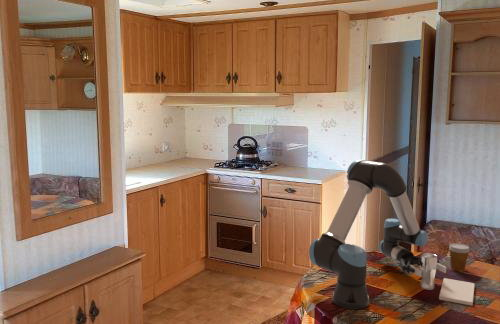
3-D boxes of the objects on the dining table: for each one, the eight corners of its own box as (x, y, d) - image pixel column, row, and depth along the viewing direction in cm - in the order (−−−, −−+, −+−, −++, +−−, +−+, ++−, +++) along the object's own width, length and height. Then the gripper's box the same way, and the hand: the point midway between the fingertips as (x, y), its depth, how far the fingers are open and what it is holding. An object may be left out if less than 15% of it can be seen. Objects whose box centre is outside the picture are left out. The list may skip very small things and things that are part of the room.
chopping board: (472, 305, 196) (472, 302, 196) (438, 299, 202) (439, 296, 202) (474, 286, 215) (474, 283, 215) (443, 281, 221) (443, 278, 221)
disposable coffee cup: (469, 268, 238) (471, 245, 236) (466, 274, 230) (468, 250, 228) (449, 264, 243) (450, 241, 241) (445, 270, 235) (447, 247, 233)
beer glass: (436, 291, 210) (439, 258, 208) (420, 289, 212) (422, 257, 209) (433, 284, 217) (436, 253, 215) (418, 283, 218) (420, 252, 216)
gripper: (423, 260, 235) (454, 276, 215) (380, 266, 226) (409, 283, 207) (424, 245, 233) (456, 260, 214) (381, 251, 225) (410, 267, 205)
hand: (433, 271), depth 210 cm, fingers open, 13 cm apart
